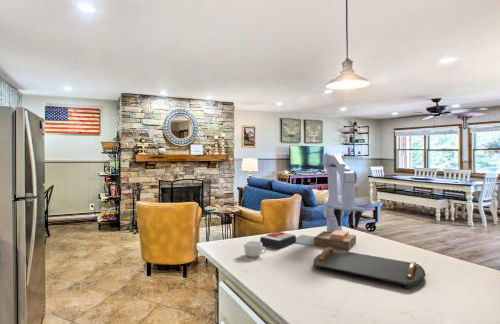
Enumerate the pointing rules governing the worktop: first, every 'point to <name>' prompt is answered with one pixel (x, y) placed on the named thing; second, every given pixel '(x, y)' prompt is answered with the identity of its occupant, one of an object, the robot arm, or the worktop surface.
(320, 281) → the worktop surface
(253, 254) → the teacup
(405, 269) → the serving board
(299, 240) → the mat
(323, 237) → the brown flat block
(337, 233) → the peach upright slab
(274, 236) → the calculator
